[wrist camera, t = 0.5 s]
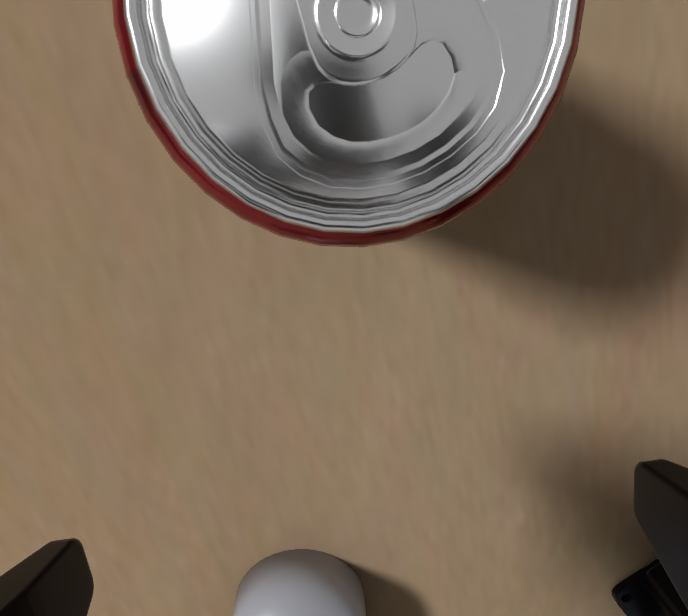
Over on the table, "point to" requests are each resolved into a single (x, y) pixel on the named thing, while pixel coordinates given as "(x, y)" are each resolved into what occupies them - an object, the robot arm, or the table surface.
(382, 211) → the soda can
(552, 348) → the table surface
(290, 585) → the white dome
